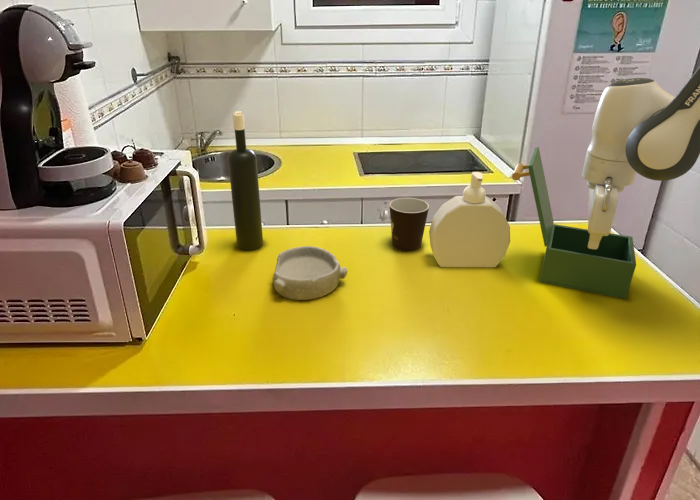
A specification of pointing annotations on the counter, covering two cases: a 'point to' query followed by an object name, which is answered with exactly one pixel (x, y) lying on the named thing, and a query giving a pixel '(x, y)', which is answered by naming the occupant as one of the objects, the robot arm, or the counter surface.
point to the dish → (307, 273)
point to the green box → (589, 262)
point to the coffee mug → (408, 222)
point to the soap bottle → (469, 229)
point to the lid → (538, 192)
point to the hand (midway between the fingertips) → (592, 237)
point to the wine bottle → (245, 190)
